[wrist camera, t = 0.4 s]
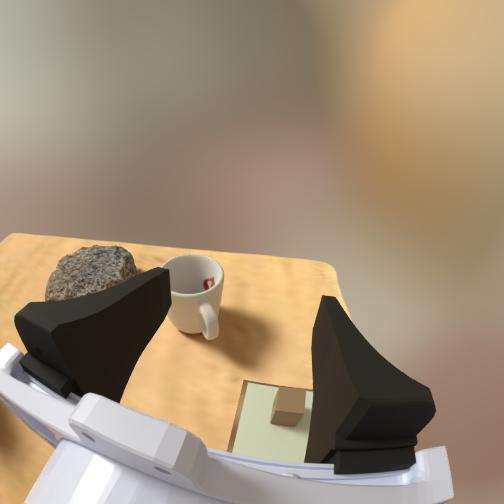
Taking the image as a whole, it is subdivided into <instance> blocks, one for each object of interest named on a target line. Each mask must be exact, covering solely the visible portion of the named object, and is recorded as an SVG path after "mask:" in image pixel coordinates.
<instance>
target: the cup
mask: <svg viewBox="0 0 504 504" xmlns="http://www.w3.org/2000/svg"><path fill="white" fill-rule="evenodd" d="M161 268H166V269H169V272H170V287H171V299H172V305H171V307H170V309H169V311H168V313H167V314H168V316H169V319H170V321H171V322H172V324H173V325H174V326H175V327H176V328H177V329H179V330H181V331H183V332H185V333H191V334H196V333H201V332H202V333H203V335H204V336H205V338H206V339H207V340H212V339H215V338H217V336H218V335H219V322H218V315H219V309H220V303H221V296H222V289H223V283H224V271H223V269H222V267H221V265H220V264H219V263H218V262H217V261H216V260H214V259H212V258H210V257H208V256H205V255H200V254H183V255H179V256H176V257H173V258H171V259H169V260H168V261H166V262H165V263H164V264H163V265H162V266H161Z"/></svg>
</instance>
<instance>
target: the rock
mask: <svg viewBox="0 0 504 504" xmlns="http://www.w3.org/2000/svg"><path fill="white" fill-rule="evenodd" d="M136 276H137V272H136V266H135V264H134V259H133V256H132V255H131V253H130V252H128V251H127V250H126V249H124V248H123V247H118V246H116V245H115V246H98V245H94V246H92V247H82V248H81V249H79V250H78V251H76V252H74V253H72V254H69V255H68V254H67V255H66V256H64V257H62V258H61V260H60V261H58V265H57V270H55V271H54V272H53V273H51V275H50V278H49V280H48V283H47V286H46V293H45V302H49V301H59V300H66V299H72V298H76V297H81V296H85V295H89V294H92V293H96V292H99V291H102V290H105V289H107V288H110V287H112V286H115V285H117V284H120V283H122V282H124V281H127V280H129V279H131V278H133V277H136Z"/></svg>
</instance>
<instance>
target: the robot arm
mask: <svg viewBox="0 0 504 504" xmlns="http://www.w3.org/2000/svg"><path fill="white" fill-rule="evenodd" d="M171 305H172V299H171V287H170V272H169V269H166V268H161V267H157V268H154V269H151V270H149V271H147V272H144V273H142V274H140V275H138V276H136V277H133V278H131V279H129V280H127V281H124V282H122V283H120V284H117V285H115V286H112V287H110V288H107V289H105V290H102V291H99V292H96V293H92V294H89V295H85V296H81V297H76V298H72V299H66V300H59V301H49V302H30V303H28V304H27V305H26V306H25V307H24V308H23V309H21V310H20V311H19V312H18V313H17V314H16V315H15V320H14V322H15V326H16V329H17V331H18V333H19V336H20V338H21V340H22V342H23V344H24V345H25V347H26V349H27V351H28V352H27V353H26V354H25V356H24V355H23V353H22V352H21V351H20V350H18V349H17V348H16V347H14V346H13V345H12V344H11V343H7V344H6V345H5V346H4V347H3V348H2V349H1V350H0V400H1V401H2V403H3V404H4V405H5V406H6V407H7V408H8V409H9V410H10V411H11V412H12V413H13V414H14V415H16V416H17V417H18V418H19V419H20V420H21V421H22V422H23V423H24V424H25V425H27V426H28V427H29V428H30V429H31V430H32V431H34V432H35V433H36V434H37V435H38V436H40V437H41V438H42V439H43V440H44V441H46V442H47V443H48V444H50V445H51V446H52V447H53V448H55V451H54V452H53V454H52V456H51V457H50V459H49V460H48V462H47V464H46V465H45V467H44V469H43V470H42V472H41V474H40V475H39V477H38V479H37V481H36V482H35V484H34V486H33V488H32V489H31V491H30V493H29V495H28V496H27V498H26V500H25V502H24V504H443V503H445V502H447V501H449V500H451V499H453V497H454V491H453V484H452V478H451V472H450V466H449V461H448V456H447V451H446V447H445V446H440V447H434V448H429V449H423V450H420V451H418V452H416V453H415V451H414V446H415V445H416V444H417V437H416V435H417V434H418V433H419V432H420V431H421V430H422V429H423V428H424V427H425V426H426V425H427V424H428V423H429V422H430V421H431V419H432V418H433V417H434V414H435V412H436V408H435V404H434V400H433V398H432V395H431V391H430V389H429V388H428V387H426V386H424V385H422V384H421V383H419V382H417V381H415V380H413V379H412V378H410V377H409V376H407V375H406V374H404V373H403V372H401V371H400V370H399V369H397V368H396V367H394V366H393V365H392V364H391V363H390V362H388V361H387V360H386V359H385V358H384V357H383V356H381V355H380V354H379V353H378V352H377V351H376V350H375V349H374V348H373V347H372V346H371V345H370V344H369V342H368V341H367V340H366V339H365V338H364V337H363V335H362V334H361V333H360V332H359V331H358V329H357V328H356V327H355V325H354V324H353V323H352V321H351V320H350V318H349V317H348V315H347V314H346V312H345V311H344V309H343V308H342V306H341V305H340V303H339V302H338V300H337V299H336V297H332V296H325V295H322V298H321V302H320V306H319V309H318V313H317V316H316V320H315V324H314V327H313V332H312V346H311V351H312V372H313V401H312V412H311V421H310V428H309V435H308V442H307V448H306V454H305V459H304V463H299V462H288V461H279V460H271V459H264V458H257V457H251V456H246V455H240V454H235V453H230V452H226V451H221V450H217V449H213V448H209V447H206V446H205V445H204V444H203V442H202V441H201V439H200V438H199V437H197V436H195V435H194V434H192V433H191V432H189V431H188V430H186V429H183V428H181V427H178V426H176V425H174V424H171V423H169V422H166V421H163V420H160V419H157V418H154V417H151V416H149V415H146V414H143V413H141V412H138V411H136V410H133V409H131V408H128V407H126V406H123V405H121V404H119V403H120V400H121V398H122V395H123V392H124V390H125V387H126V385H127V383H128V380H129V378H130V376H131V373H132V371H133V369H134V367H135V365H136V363H137V361H138V359H139V357H140V356H141V354H142V352H143V351H144V349H145V348H146V346H147V345H148V343H149V342H150V340H151V339H152V337H153V336H154V334H155V333H156V331H157V330H158V328H159V327H160V325H161V324H162V322H163V321H164V319H165V317H166V315H167V313H168V311H169V309H170V307H171Z"/></svg>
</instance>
